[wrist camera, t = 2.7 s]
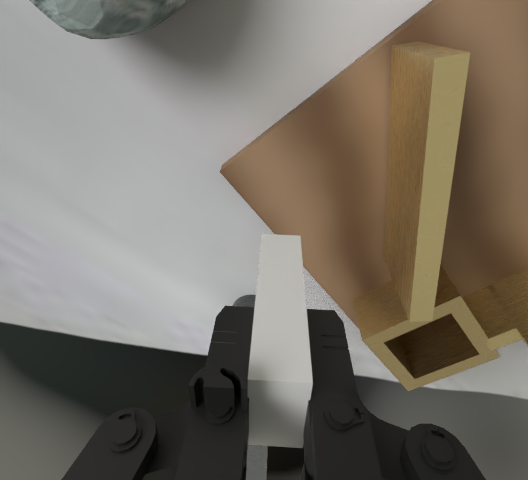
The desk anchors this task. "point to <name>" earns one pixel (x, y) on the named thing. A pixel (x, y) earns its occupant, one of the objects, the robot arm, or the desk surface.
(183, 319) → the desk surface
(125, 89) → the desk surface
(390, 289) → the fixed leaf
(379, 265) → the board
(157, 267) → the desk surface
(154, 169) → the desk surface
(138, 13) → the spool
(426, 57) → the tan flat bar
